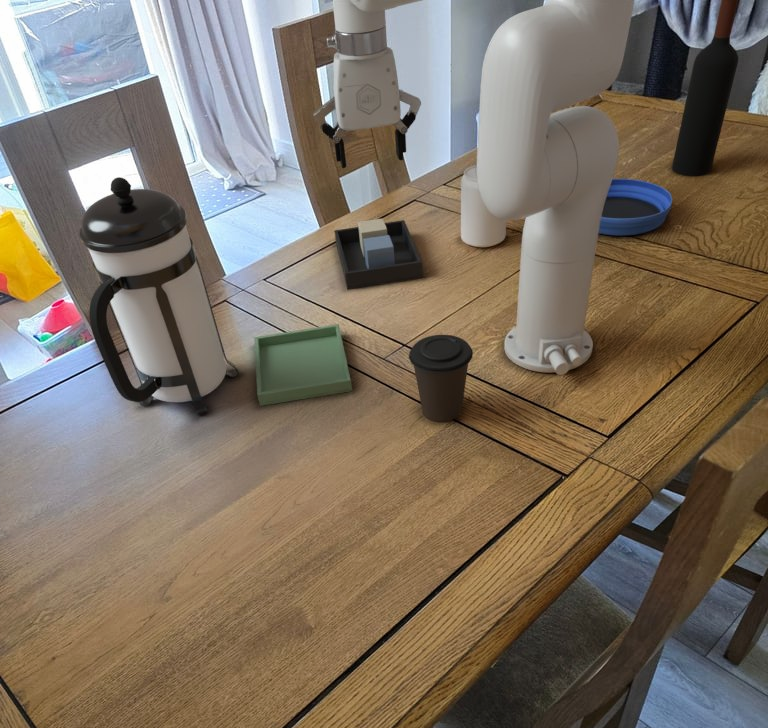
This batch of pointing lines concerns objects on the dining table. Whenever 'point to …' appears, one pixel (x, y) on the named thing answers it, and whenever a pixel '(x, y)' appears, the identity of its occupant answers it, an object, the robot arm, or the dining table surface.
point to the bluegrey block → (378, 251)
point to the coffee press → (152, 297)
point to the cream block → (371, 230)
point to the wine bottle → (707, 98)
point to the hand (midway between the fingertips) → (371, 161)
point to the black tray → (404, 268)
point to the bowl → (634, 207)
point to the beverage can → (478, 215)
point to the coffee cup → (441, 375)
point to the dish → (301, 365)
